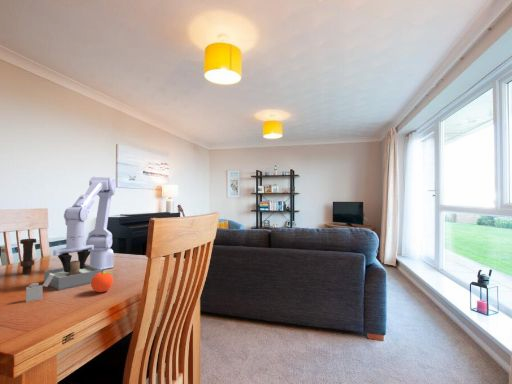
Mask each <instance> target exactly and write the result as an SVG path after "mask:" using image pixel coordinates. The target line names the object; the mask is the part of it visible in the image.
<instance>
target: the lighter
mask: <svg viewBox="0 0 512 384" xmlns="http://www.w3.org/2000/svg"><path fill="white" fill-rule="evenodd" d="M53 277H54V274H52V273H49V275H48V277H47V278H46V280H45V282H44V281H43V283H42V284H40V285H39V283H40V282H34V283H30V284H29V285H28V286H26V288H25V303H27V302H29V303H30V302H33V301H39V300H43V291H44V290H43V288H44V287H45V288H48V286H50V285H49V283H50V282H51V280H52V278H53Z"/></svg>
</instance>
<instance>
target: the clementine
mask: <svg viewBox="0 0 512 384" xmlns="http://www.w3.org/2000/svg"><path fill="white" fill-rule="evenodd" d="M111 274H112V272H110V271H103V272H101V273H98V274H96V275H95V276H94V277H93V279H92V281H91V283H90V287H91V288H92V290H93V291H94V292H97V293H104V292H107V291H108V290H110V288H111V287H112V286H113V283H114V278H113V276H112V275H111ZM113 275H114V276H116V275H115V274H114V273H113Z"/></svg>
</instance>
